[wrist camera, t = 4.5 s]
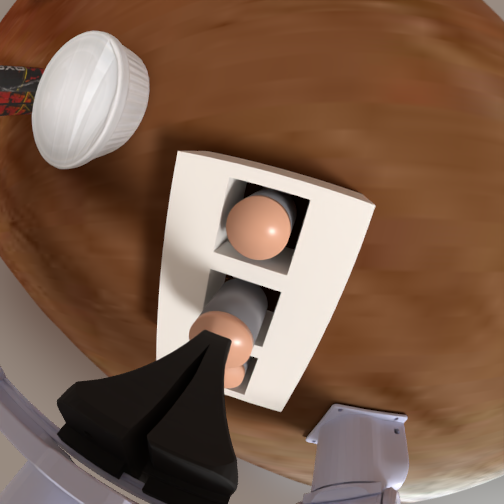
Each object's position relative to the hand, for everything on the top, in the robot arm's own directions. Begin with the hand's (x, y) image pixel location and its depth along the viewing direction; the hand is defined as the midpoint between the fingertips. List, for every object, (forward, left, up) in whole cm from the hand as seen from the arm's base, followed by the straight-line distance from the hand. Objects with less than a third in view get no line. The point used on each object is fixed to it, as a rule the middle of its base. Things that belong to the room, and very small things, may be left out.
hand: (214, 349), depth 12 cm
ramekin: (+16, -11, -10) cm, 22 cm away
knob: (0, -5, -9) cm, 10 cm away
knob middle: (0, +1, -6) cm, 6 cm away
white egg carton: (0, +1, -9) cm, 9 cm away
